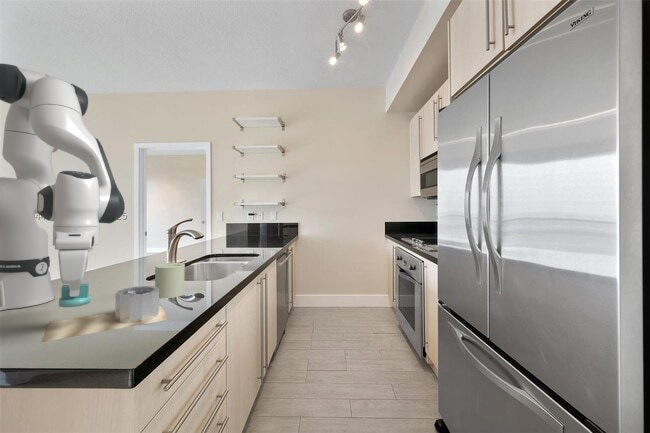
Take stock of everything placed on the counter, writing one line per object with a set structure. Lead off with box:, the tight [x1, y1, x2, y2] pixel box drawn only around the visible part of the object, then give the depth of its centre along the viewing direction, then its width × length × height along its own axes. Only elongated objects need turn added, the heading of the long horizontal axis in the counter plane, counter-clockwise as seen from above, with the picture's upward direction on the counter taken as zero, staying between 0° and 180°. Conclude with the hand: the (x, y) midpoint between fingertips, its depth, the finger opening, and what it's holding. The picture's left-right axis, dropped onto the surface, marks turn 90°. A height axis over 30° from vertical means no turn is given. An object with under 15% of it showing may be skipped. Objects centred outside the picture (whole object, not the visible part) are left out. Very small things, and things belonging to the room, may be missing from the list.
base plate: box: [41, 305, 170, 343], centre depth 79 cm, size 25×14×2 cm, turn 126°
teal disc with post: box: [58, 282, 91, 308], centre depth 75 cm, size 6×6×4 cm
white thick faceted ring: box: [114, 285, 160, 323], centre depth 83 cm, size 10×10×7 cm
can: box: [154, 262, 186, 299], centre depth 104 cm, size 9×9×12 cm
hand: (75, 293), depth 75 cm, fingers closed on teal disc with post, 2 cm apart
